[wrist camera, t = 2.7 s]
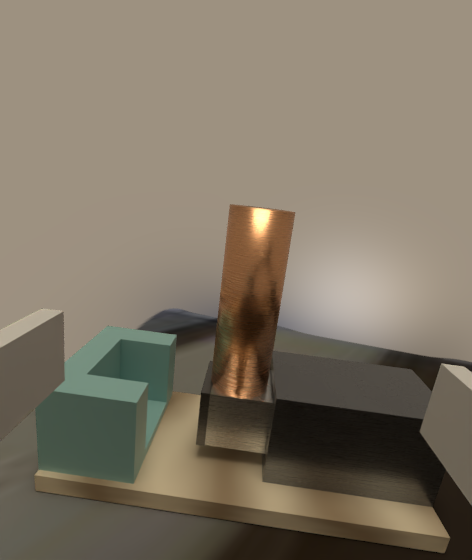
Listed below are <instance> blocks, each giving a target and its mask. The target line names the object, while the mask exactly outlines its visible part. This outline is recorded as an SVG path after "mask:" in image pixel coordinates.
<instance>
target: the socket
mask: <svg viewBox="0 0 472 560" xmlns="http://www.w3.org/2000/svg"><path fill="white" fill-rule="evenodd" d="M176 337H177V335H172V334H164V333H157V332H150V331H142V330H135V329H127V328H120V327H112V326H107V327H106V328H105V329H104V330H102V331H101V332H100V333H99V334H98V335H97V336H95V337H94V338H93V339H92V340H91V341H89V342H88V343H87V344H86V345H85V346H84V347H82V348H81V349H80V350H79V351H78V352H76V353H75V354H74V355H73V356H72V357H71V358H69V359H68V360H67V361H66V362H65V363H64V368H65V381H64V382H63V383H62V384H60V385H59V386H58V387H57V388H56V389H55V390H54V391H53V392H52V393H51V394H50V395H49V396H48V397H47V398H46V399H45V400H44V401H42V402H41V403H40V404H39V405H38V406H37V407H36V408H35V409H36V427H37V445H38V463H39V470H44V471H51V472H58V473H64V474H71V475H78V476H84V477H91V478H97V479H104V480H111V481H117V482H124V483H131V484H134V482H135V480H136V477H137V475H138V473H139V470H140V468H141V466H142V463H143V461H144V459H145V456H146V454H147V452H148V449H149V447H150V445H151V442H152V440H153V438H154V435H155V433H156V431H157V429H158V426H159V424H160V422H161V419H162V417H163V415H164V412H165V410H166V408H167V405H168V403H169V401H170V398H171V396H172V392H173V378H174V364H175V351H176Z"/></svg>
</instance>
